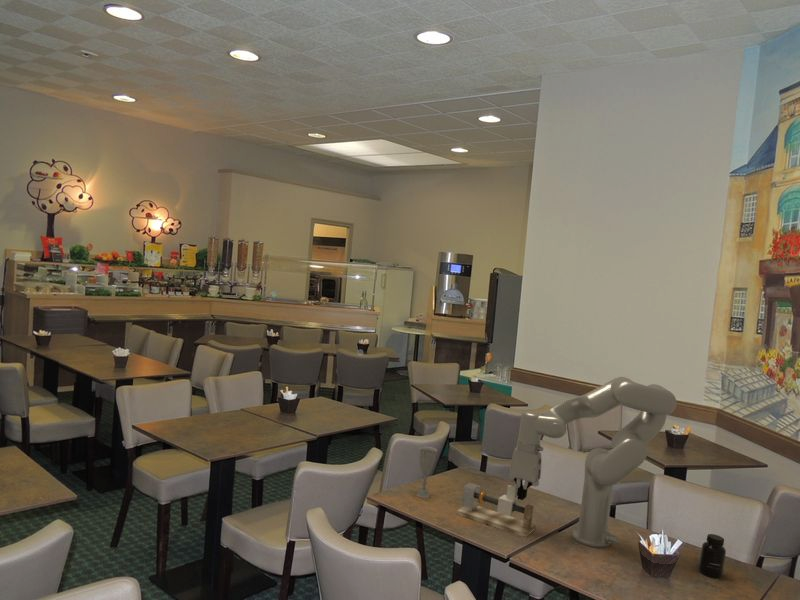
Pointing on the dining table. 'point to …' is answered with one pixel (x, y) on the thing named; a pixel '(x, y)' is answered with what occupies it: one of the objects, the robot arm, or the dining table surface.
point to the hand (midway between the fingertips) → (521, 498)
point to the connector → (471, 497)
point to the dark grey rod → (495, 501)
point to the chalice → (426, 467)
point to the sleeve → (507, 501)
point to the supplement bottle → (712, 556)
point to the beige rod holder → (502, 519)
